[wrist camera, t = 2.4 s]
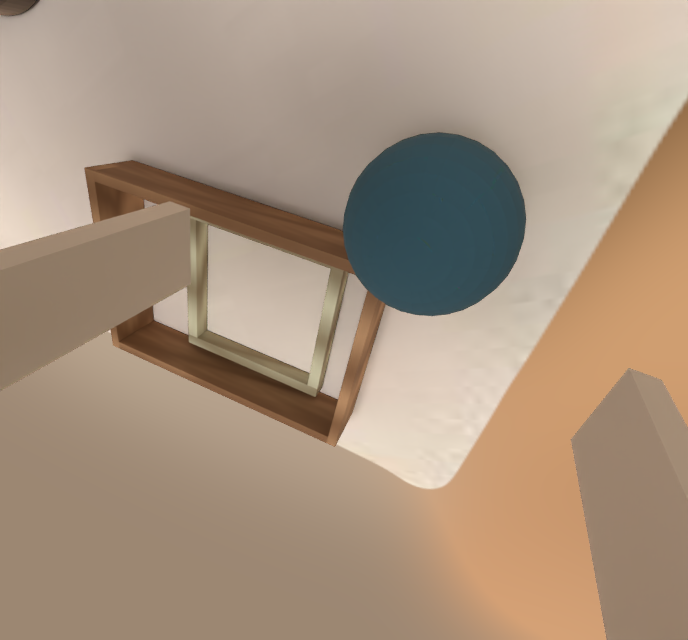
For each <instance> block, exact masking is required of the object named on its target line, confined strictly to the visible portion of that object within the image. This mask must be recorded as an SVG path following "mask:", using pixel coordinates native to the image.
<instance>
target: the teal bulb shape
mask: <svg viewBox="0 0 688 640" xmlns="http://www.w3.org/2000/svg"><path fill="white" fill-rule="evenodd" d="M525 224H526V214H525V205H524V199H523V196H522V193H521V190H520V187H519V184H518V182H517V180H516V178H515V177H514V175H513V174H512V172H511V170H510V169H509V167H508V166H507V165H506V164H505V163H504V162H503V161H502V160H501V159H500V158H499V157H498V156H497V155H496V153H495V152H493V151H492V150H490V149H489V148H487V147H485V146H484V145H482V144H481V143H479V142H477V141H475V140H472V139H469V138H466V137H463V136H461V135H456V134H448V133H429V134H420V135H417V136H413V137H410V138H407V139H404V140H401V141H400V142H398V143H396V144H394V145H392V146H391V147H389V148H387V149H386V150H384V151H383V152H382V153H381V154H380V155H379V156H377V157H376V158H375V159H374V160H373V161H372V162H371V163H369V164H368V166H367V167H366V168H365V169H364V171H363V172H362V173H361V175H360V176H359V177H358V178H357V180H356V182H355V184H354V186H353V188H352V190H351V192H350V195H349V199H348V202H347V206H346V209H345V214H344V223H343V237H344V246H345V250H346V253H347V256H348V260H349V262H350V264H351V266H352V268H353V270H354V272H355V274H356V276H357V277H358V278H359V280H360V281H361V283H362V284H363V285H364V287H365V288H366V289H367V290H368V291H369V292H370V293H371V294H373V295H374V296H375V297H376V298H377V299H379V300H380V301H382V302H383V303H385V304H386V305H388V306H390V307H393V308H395V309H397V310H399V311H403V312H407V313H411V314H415V315H427V316H436V315H446V314H451V313H454V312H457V311H461V310H464V309H466V308H468V307H470V306H472V305H474V304H476V303H478V302H479V301H481V300H482V299H483V298H485V297H486V296H487V295H488V294H490V293H491V292H492V291H494V290H495V289H496V288H497V287H498V286H499V285H500V284H501V283H502V281H503V280H504V279H505V278H506V277H507V276H508V274H509V272H510V271H511V269H512V267H513V266H514V264H515V262H516V260H517V258H518V255H519V252H520V249H521V246H522V243H523V239H524V233H525Z"/></svg>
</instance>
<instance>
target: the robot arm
mask: <svg viewBox="0 0 688 640" xmlns="http://www.w3.org/2000/svg"><path fill="white" fill-rule="evenodd" d="M36 1H37V0H0V15H5V16H11V15H17V14H20V13H22V12H24V11H26V10H27V9H29V8H30V7H31V6H32V5H33V4H34V3H35V2H36ZM190 284H191V260H190V208H187V207H184V206H181V205H179V204H176V203H173V202H170V201H169V202H166V203H162V204H159V205H155V206H152V207H148V208H145V209H141V210H138V211H134V212H131V213H127V214H124V215H120V216H117V217H113V218H110V219H106V220H103V221H99V222H96V223H92V224H89V225H85V226H82V227H78V228H75V229H71V230H68V231H64V232H61V233H57V234H54V235H50V236H47V237H43V238H40V239H36V240H33V241H29V242H25V243H22V244H18V245H15V246H11V247H8V248H4V249H1V250H0V391H2V390H3V389H5V388H7V387H8V386H10V385H12V384H14V383H15V382H18V381H19V380H21V379H23V378H25V377H26V376H28V375H30V374H31V373H34V372H35V371H37V370H39V369H41V368H42V367H44V366H46V365H48V364H50V363H51V362H53V361H55V360H57V359H58V358H60V357H62V356H64V355H65V354H67V353H69V352H71V351H72V350H74V349H76V348H78V347H79V346H81V345H83V344H85V343H87V342H89V341H90V340H92V339H94V338H96V337H98V336H99V335H101V334H103V333H105V332H106V331H108V330H110V329H112V328H114V327H115V326H117V325H119V324H121V323H122V322H124V321H126V320H128V319H130V318H131V317H133V316H135V315H137V314H138V313H140V312H142V311H144V310H146V309H147V308H149V307H151V306H153V305H155V304H156V303H158V302H160V301H162V300H163V299H165V298H167V297H169V296H171V295H172V294H174V293H176V292H178V291H179V290H181V289H183V288H185V287H187V286H188V285H190ZM571 441H572V448H573V453H574V459H575V464H576V470H577V476H578V481H579V487H580V492H581V498H582V504H583V509H584V515H585V520H586V526H587V532H588V537H589V543H590V549H591V554H592V560H593V565H594V571H595V576H596V582H597V588H598V593H599V599H600V604H601V610H602V616H603V621H604V627H605V632H606V638H607V640H688V427H687V426H686V424H685V422H684V420H683V418H682V416H681V414H680V413H679V411H678V409H677V407H676V405H675V404H674V402H673V400H672V398H671V396H670V394H669V392H668V391H667V389H666V387H665V385H664V383H663V382H662V380H660V379H657V378H655V377H652V376H650V375H647V374H644V373H641V372H639V371H636V370H633V369H630V368H629V369H628V370H627V371H626V372H625V373H624V375H623V376H622V377H621V378H620V380H619V381H618V382H617V383H616V384H615V386H614V387H613V388H612V389H611V391H610V392H609V393H608V394H607V396H606V397H605V398H604V399H603V401H602V402H601V403H600V404H599V406H598V407H597V408H596V409H595V410H594V412H593V413H592V414H591V415H590V417H589V418H588V419H587V420H586V422H585V423H584V424H583V425H582V426H581V428H580V429H579V430H578V431H577V433H576V434H575V435H574V436H573V438H572V439H571Z"/></svg>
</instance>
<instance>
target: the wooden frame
mask: <svg viewBox="0 0 688 640" xmlns="http://www.w3.org/2000/svg"><path fill="white" fill-rule="evenodd" d="M85 174H86V181H87V187H88V193H89V199H90V205H91V212H92V218H93V223H96V222H99V221H103V220H106V219H110V218H113V217H117V216H120V215H124V214H127V213H131V212H134V211H138V210H141V209H144V202H143V199H145V200H148V201H150V202H153V203H156V204H162V203H166V202H169V201H170V202H173V203H176V204H179V205H181V206H184V207H187V208H190V260H191V284H190V285H188V286H187V295H188V334H189V336H188V335H186V334H184V333H181V332H179V331H177V330H174V329H172V328H170V327H167V326H165V325H163V324H160V323H158V322H156V321H154V319H153V307H152V306H151V307H149V308H147V309H146V310H144V311H142V312H140V313H138V314H137V315H135V316H133V317H131V318H130V319H128V320H126V321H124V322H122V323H121V324H119V325H117V326H115V327H114V328H112V329H111V335H112V341H113V345H114V346H116V347H118V348H120V349H122V350H124V351H127V352H129V353H131V354H134V355H136V356H138V357H140V358H142V359H144V360H146V361H149V362H151V363H153V364H155V365H157V366H160V367H162V368H164V369H166V370H168V371H170V372H172V373H175V374H177V375H179V376H181V377H183V378H186V379H188V380H190V381H192V382H194V383H197V384H199V385H201V386H203V387H205V388H208V389H210V390H212V391H214V392H217V393H218V394H221V395H223V396H225V397H227V398H229V399H231V400H234V401H236V402H238V403H240V404H243V405H245V406H247V407H249V408H251V409H254V410H256V411H258V412H260V413H262V414H264V415H267V416H269V417H271V418H273V419H275V420H277V421H280V422H282V423H284V424H286V425H288V426H290V427H293V428H295V429H297V430H300V431H302V432H304V433H306V434H308V435H310V436H312V437H315V438H317V439H319V440H321V441H323V442H325V443H328V444H330V445H332V446H334V447H335V446H336V444H337V442H338V440H339V438H340V436H341V434H342V432H343V430H344V428H345V426H346V424H347V422H348V420H349V418H350V416H351V414H352V412H353V409H354V406H355V402H356V399H357V396H358V393H359V389H360V386H361V383H362V380H363V376H364V373H365V370H366V366H367V363H368V360H369V357H370V353H371V350H372V347H373V343H374V340H375V337H376V334H377V330H378V327H379V324H380V321H381V317H382V314H383V311H384V307H385V303H383V302H382V301H380V300H379V299H377V298H376V297H375V296H374V295H373V294H371V293H370V292H369V291H367V295H366V298H365V302H364V306H363V309H362V313H361V317H360V321H359V324H358V328H357V332H356V335H355V339H354V343H353V347H352V350H351V354H350V358H349V361H348V365H347V369H346V373H345V376H344V380H343V384H342V387H341V391H340V395H339V399H338V400H337V399H334V398H332V397H330V396H327V395H325V394H323V393H321V392H319V391H320V390H321V388H322V385H323V381H324V376H325V372H326V368H327V363H328V359H329V355H330V350H331V346H332V342H333V337H334V333H335V329H336V324H337V320H338V316H339V311H340V307H341V303H342V298H343V294H344V290H345V285H346V281H347V277H348V272H349V273H352V274H355V272H354V270H353V268H352V266H351V264H350V262H349V260H348V256H347V253H346V250H345V246H344V237H343V231H341V230H338V229H336V228H333V227H330V226H327V225H324V224H321V223H318V222H315V221H312V220H309V219H306V218H303V217H300V216H297V215H294V214H291V213H288V212H285V211H282V210H279V209H276V208H273V207H270V206H267V205H264V204H261V203H258V202H255V201H252V200H249V199H246V198H243V197H240V196H237V195H234V194H231V193H228V192H225V191H222V190H219V189H216V188H213V187H210V186H207V185H204V184H201V183H198V182H195V181H193V180H190V179H187V178H184V177H181V176H178V175H175V174H172V173H169V172H166V171H163V170H160V169H157V168H154V167H151V166H148V165H145V164H142V163H139V162H136V161H133V160H131V161H125V162H118V163H112V164H105V165H99V166H92V167H85ZM208 225H211V226H214V227H217V228H219V229H222V230H225V231H228V232H231V233H233V234H236V235H239V236H242V237H244V238H247V239H250V240H253V241H256V242H258V243H261V244H264V245H267V246H270V247H272V248H275V249H278V250H281V251H283V252H286V253H289V254H292V255H295V256H297V257H300V258H303V259H306V260H309V261H311V262H314V263H317V264H320V265H322V266H325V267H328V268H331V270H330V275H329V280H328V285H327V290H326V295H325V300H324V305H323V310H322V315H321V320H320V325H319V330H318V335H317V340H316V345H315V350H314V355H313V360H312V365H311V370H310V374H309V373H307V372H304V371H302V370H300V369H297V368H295V367H293V366H290V365H288V364H285V363H283V362H281V361H278V360H276V359H274V358H271V357H269V356H267V355H264V354H262V353H259V352H257V351H255V350H252V349H250V348H248V347H245V346H243V345H240V344H238V343H236V342H233V341H231V340H229V339H226V338H224V337H222V336H219V335H217V334H214V333H212V332H210V331H207V243H208ZM355 275H356V274H355Z"/></svg>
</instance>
